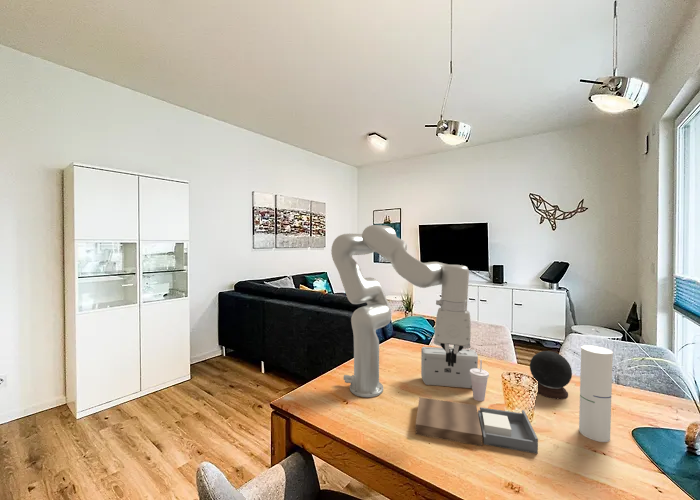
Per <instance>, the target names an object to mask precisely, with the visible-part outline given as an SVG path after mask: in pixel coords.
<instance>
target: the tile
mask: <svg viewBox="0 0 700 500" xmlns="http://www.w3.org/2000/svg"><path fill="white" fill-rule="evenodd" d="M482 421H483V425H484V430H485V433H490V434H496V435H502V436H508V437H511V427H510V423H509V420H508V417H507V416H504V415H498V414H491V413H485V412H482Z"/></svg>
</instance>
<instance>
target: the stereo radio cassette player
mask: <svg viewBox="0 0 700 500" xmlns="http://www.w3.org/2000/svg"><path fill="white" fill-rule="evenodd" d="M426 336H427V337H430V338H432V339H433V340H434V338H435V337H432V336H430V335H429V334H426ZM449 348H450V351H452V349H453V347H451V346H450V345H449ZM420 354H421V356H420V358H421V365H420V369H421V371H420V372H421V373H420V374H421V379H422V382H423V383H424V384H425V385H426V386H439V387H440V386H441V387H451V388H463V389H465V388H466V389H472V382H471V375H470V370H471V369H473V368H478V367H479V366H478V364H479V363H478V362H479V361H478V360H479V356H478V353H477V351H476V350H475V349H470V348H468V349H462V350H461V351H459V352H458V353H457V354H456V363H454V367H452V366H448V362H446V352H445V350H444V349H443V348H442V347H434V346H433V347H432V346H431V347H430V346H422V347H421V353H420ZM478 369H479V368H478Z"/></svg>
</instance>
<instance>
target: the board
mask: <svg viewBox="0 0 700 500" xmlns="http://www.w3.org/2000/svg"><path fill="white" fill-rule="evenodd" d="M415 418H416V420H415V435H417V436H424V437H428V438H429V437H430V438H434V439H435V438H436V439H439V440H440V439H441V440H445V441H450V442H452V441H453V442H457V443H461V444H462V443H464V444H468V445H475V446H479V447H480V446H481V447H483V438H482V431H481V426H480V421H479V417H478V409H477V405H476V404H472V403H470V404H469V403H463V402H455V401H448V400H442V399H441V400H440V399H435V398H429V397H428V398H427V397H421V396H420V397H419V399H418V405H417V412H416V417H415Z"/></svg>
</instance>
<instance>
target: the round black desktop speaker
mask: <svg viewBox="0 0 700 500" xmlns="http://www.w3.org/2000/svg"><path fill="white" fill-rule="evenodd" d="M529 371H530V374H531V375H532V377H533V379H534V378H535V379H536V380H537V381H538V393H537V395H540V396H543V397H545V398H548V399H551V400H552V399H553V400H566V399H567V398H568V397H569V392H568V391H567V389H566V388H565V387H566V386H567V385H568V384H569V383H570V382H571V380H572V377H573V370H572V366H571V365H570V363H569V361H568V360H567V359H566V358H565V357H564V356H563V355H562V354H559V353H557V352H555V351H551V350H542V351H539V352H537V353H535V354H534V355H533V356H532V357H531V359H530V361H529ZM535 379H534V380H535ZM536 380H535V381H536ZM537 381H536V382H537Z"/></svg>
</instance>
